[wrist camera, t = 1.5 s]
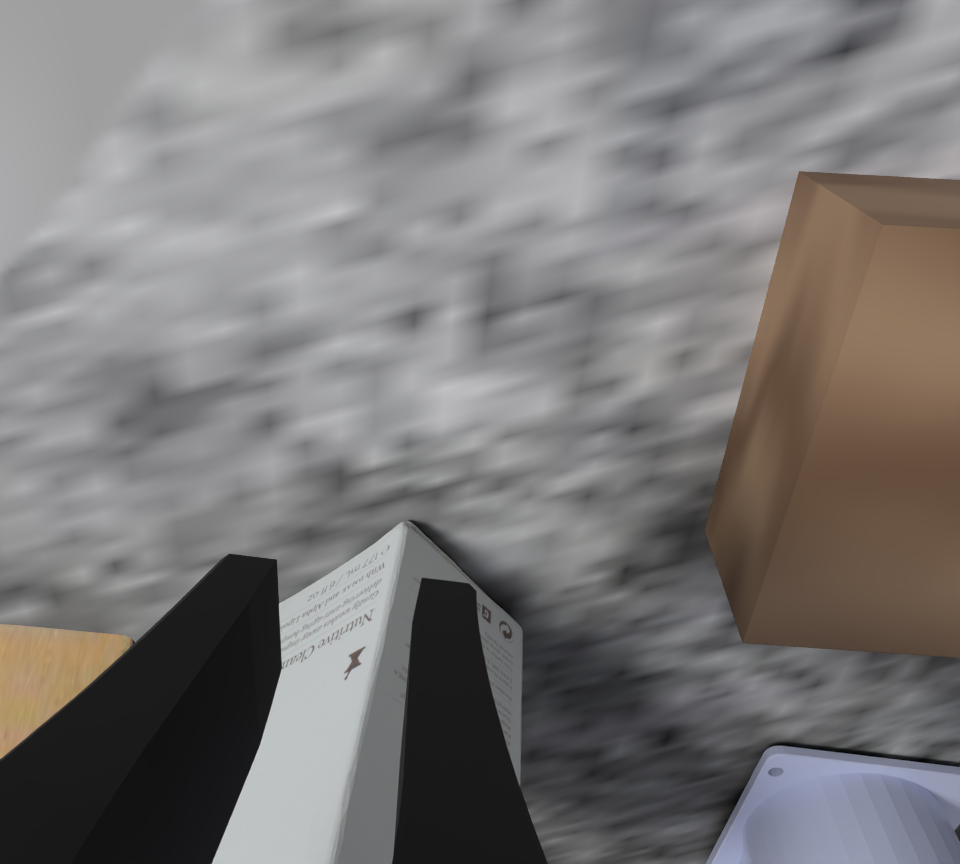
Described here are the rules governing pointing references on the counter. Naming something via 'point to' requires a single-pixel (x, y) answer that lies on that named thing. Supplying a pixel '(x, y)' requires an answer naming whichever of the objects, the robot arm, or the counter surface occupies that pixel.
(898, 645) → the walnut block
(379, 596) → the skincare box
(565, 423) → the counter surface
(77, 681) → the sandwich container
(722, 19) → the counter surface
